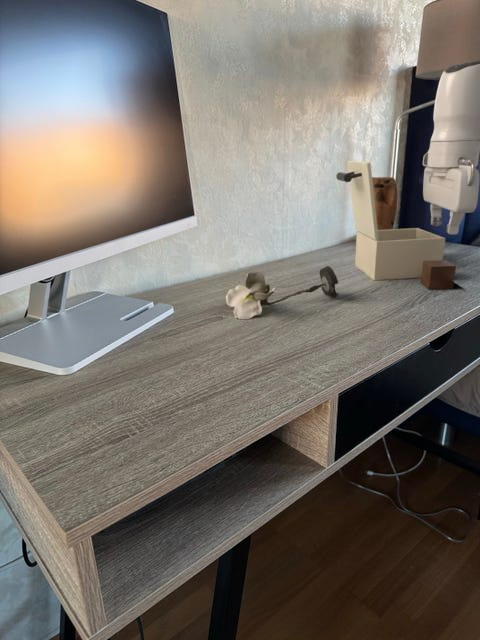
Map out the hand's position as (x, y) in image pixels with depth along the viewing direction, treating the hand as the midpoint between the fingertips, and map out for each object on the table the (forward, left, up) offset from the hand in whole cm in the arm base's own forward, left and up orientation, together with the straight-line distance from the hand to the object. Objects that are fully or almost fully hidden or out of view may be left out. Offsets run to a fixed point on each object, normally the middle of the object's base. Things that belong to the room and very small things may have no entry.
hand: (443, 229), depth 91 cm
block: (+3, -40, -12) cm, 42 cm away
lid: (+14, -12, +5) cm, 19 cm away
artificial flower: (+33, +11, -12) cm, 37 cm away
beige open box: (+5, -13, -12) cm, 19 cm away
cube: (0, 0, -12) cm, 12 cm away
